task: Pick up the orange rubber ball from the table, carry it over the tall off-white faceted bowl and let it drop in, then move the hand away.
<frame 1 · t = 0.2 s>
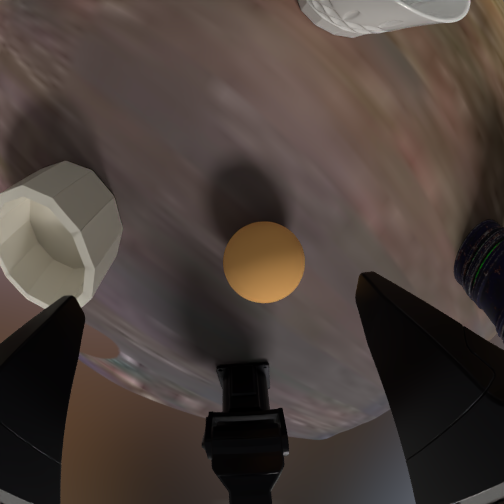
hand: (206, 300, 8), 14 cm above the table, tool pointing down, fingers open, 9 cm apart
off-white faceted bowl: (69, 221, 20), on the table
storage jar: (478, 252, 25), on the table
ball: (264, 262, 20), point 3 cm above the table
white cup: (338, 2, 12), on the table
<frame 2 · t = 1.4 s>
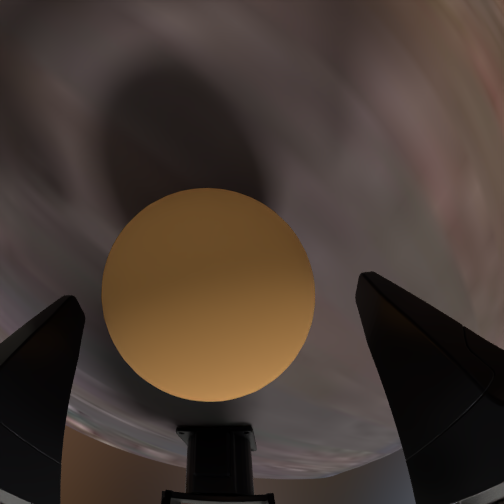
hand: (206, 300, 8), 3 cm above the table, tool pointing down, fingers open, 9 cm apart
ball: (207, 295, 8), point 3 cm above the table
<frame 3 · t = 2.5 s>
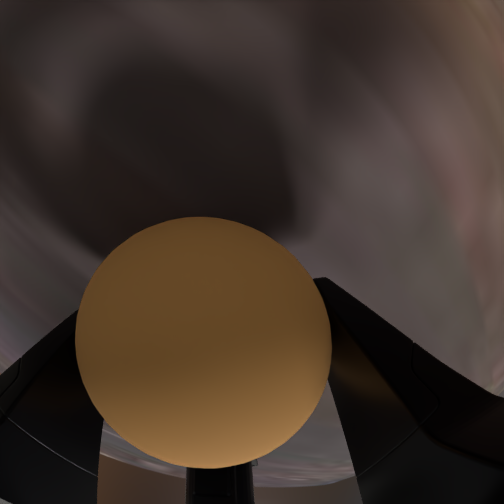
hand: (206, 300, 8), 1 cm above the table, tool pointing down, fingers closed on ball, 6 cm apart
ball: (202, 345, 6), point 3 cm above the table, touching gripper
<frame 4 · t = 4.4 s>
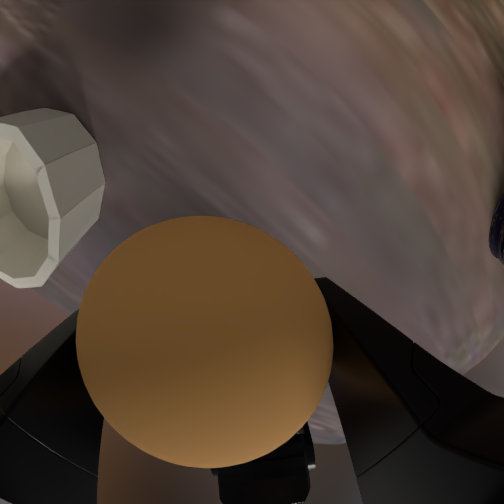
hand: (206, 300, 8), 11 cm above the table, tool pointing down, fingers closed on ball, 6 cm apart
off-white faceted bowl: (45, 180, 16), on the table
ball: (203, 344, 6), point 13 cm above the table, touching gripper
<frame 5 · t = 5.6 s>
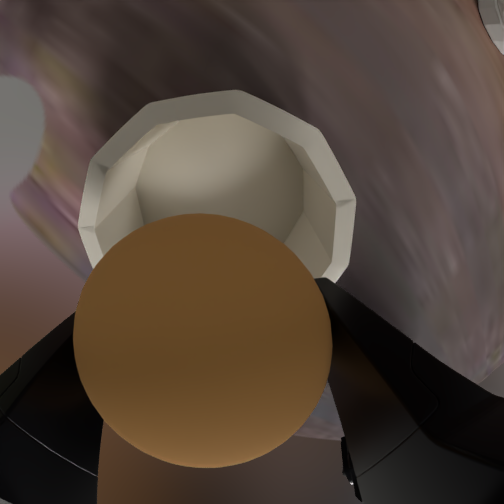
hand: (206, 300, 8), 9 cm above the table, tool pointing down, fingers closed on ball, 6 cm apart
off-white faceted bowl: (219, 193, 15), on the table
ball: (201, 343, 6), point 11 cm above the table, touching gripper
white cup: (498, 25, 8), on the table
when the fingers open (9 cm above the table, at t = 6.4 s): ball drops 7 cm, resting on off-white faceted bowl.
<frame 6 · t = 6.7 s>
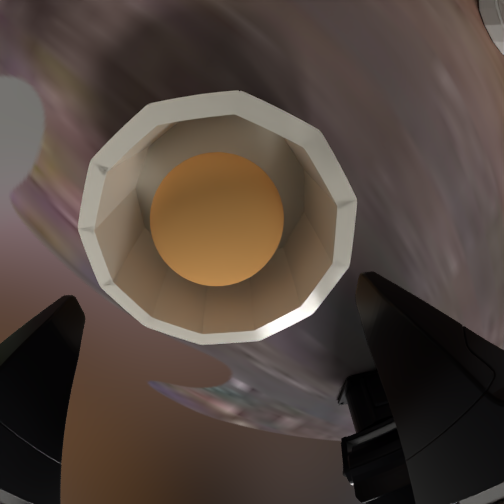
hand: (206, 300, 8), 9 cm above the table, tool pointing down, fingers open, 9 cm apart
off-white faceted bowl: (220, 194, 15), on the table
ball: (216, 218, 12), point 4 cm above the table, touching off-white faceted bowl
white cup: (499, 26, 8), on the table
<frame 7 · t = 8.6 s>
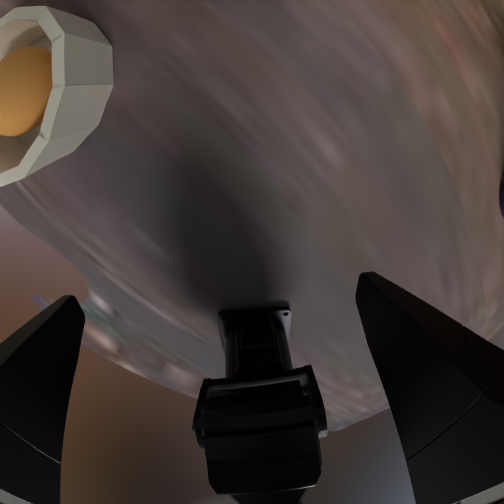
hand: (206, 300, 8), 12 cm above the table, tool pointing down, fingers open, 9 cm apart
off-white faceted bowl: (50, 88, 12), on the table
ball: (21, 90, 9), point 4 cm above the table, touching off-white faceted bowl
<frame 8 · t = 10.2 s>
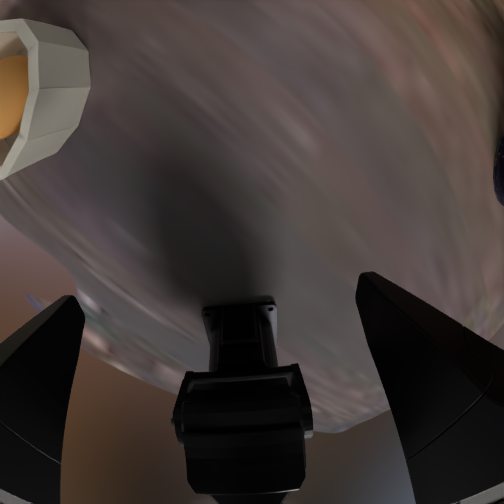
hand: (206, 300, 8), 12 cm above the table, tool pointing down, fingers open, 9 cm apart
off-white faceted bowl: (34, 94, 13), on the table
ball: (6, 96, 9), point 4 cm above the table, touching off-white faceted bowl
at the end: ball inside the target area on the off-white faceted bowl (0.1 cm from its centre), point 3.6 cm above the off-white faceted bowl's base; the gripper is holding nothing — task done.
